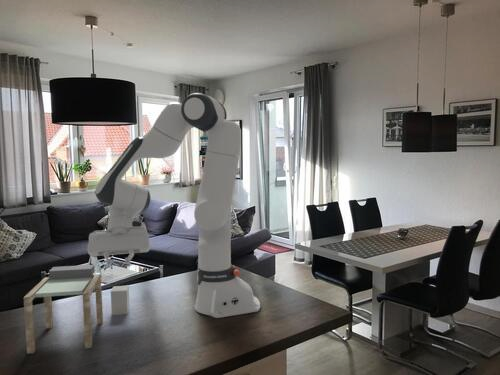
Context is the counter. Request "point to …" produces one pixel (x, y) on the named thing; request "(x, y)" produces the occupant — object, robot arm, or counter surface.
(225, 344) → the counter surface
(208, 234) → the robot arm
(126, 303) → the stone
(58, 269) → the trapdoor
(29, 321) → the frame
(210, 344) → the counter surface
